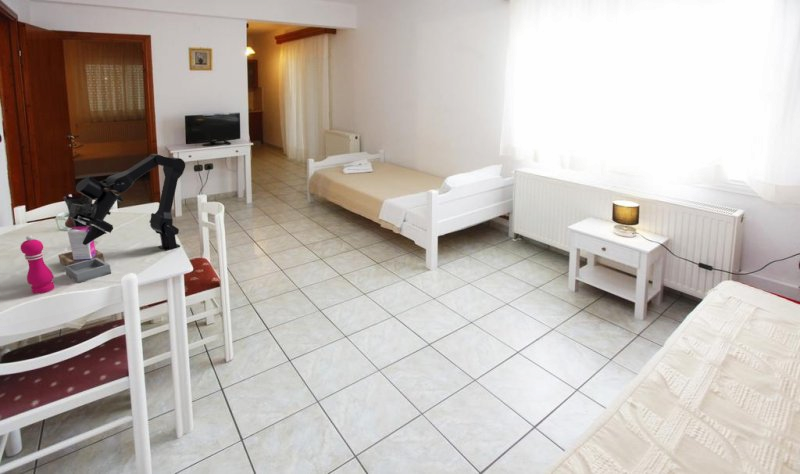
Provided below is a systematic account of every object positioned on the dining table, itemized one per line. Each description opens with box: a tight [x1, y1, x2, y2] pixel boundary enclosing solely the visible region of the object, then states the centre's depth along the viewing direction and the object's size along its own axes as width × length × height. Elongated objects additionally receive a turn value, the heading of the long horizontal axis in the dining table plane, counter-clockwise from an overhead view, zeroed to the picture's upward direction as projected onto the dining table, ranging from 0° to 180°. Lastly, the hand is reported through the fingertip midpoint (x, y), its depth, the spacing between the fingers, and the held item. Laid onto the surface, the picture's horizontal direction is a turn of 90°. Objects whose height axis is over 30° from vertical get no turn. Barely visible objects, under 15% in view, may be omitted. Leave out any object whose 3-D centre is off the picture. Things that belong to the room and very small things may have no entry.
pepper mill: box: [20, 235, 55, 295], centre depth 156 cm, size 7×7×20 cm
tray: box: [63, 258, 112, 284], centre depth 172 cm, size 11×11×4 cm
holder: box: [57, 249, 105, 267], centre depth 182 cm, size 11×11×4 cm
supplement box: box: [67, 225, 97, 261], centre depth 168 cm, size 6×6×12 cm
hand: (77, 242), depth 167 cm, fingers closed on supplement box, 8 cm apart
